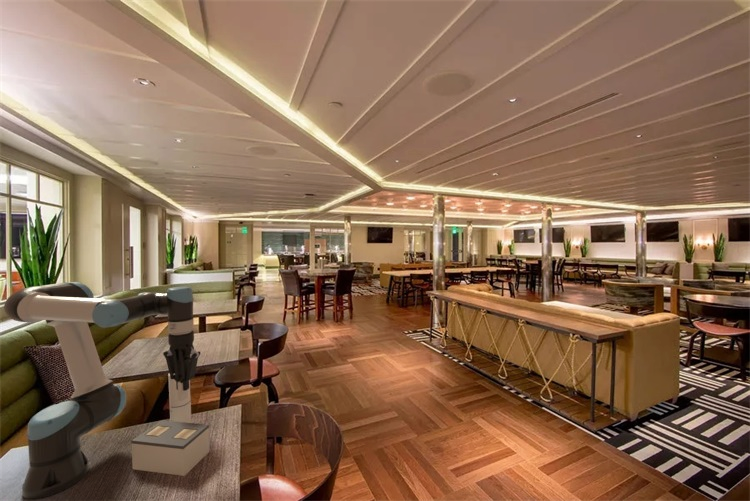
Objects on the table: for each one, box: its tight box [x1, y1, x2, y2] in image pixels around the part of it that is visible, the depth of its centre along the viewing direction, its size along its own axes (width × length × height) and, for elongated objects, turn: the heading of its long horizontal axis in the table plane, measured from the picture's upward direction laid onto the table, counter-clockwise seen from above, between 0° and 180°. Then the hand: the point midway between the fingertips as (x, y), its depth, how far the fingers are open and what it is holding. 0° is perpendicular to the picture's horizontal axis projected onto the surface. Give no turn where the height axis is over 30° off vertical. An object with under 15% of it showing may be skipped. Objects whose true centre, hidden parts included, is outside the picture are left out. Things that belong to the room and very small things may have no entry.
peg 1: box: [146, 426, 170, 437], centre depth 111 cm, size 5×5×8 cm
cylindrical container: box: [167, 373, 192, 423], centre depth 125 cm, size 7×7×25 cm
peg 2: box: [173, 429, 197, 440], centre depth 109 cm, size 5×5×8 cm
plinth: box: [130, 419, 211, 477], centre depth 110 cm, size 20×12×10 cm, turn 80°
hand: (183, 398), depth 108 cm, fingers closed
